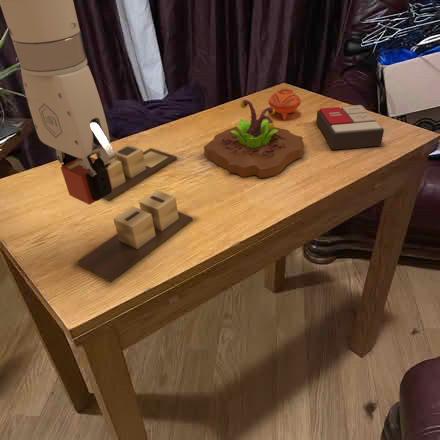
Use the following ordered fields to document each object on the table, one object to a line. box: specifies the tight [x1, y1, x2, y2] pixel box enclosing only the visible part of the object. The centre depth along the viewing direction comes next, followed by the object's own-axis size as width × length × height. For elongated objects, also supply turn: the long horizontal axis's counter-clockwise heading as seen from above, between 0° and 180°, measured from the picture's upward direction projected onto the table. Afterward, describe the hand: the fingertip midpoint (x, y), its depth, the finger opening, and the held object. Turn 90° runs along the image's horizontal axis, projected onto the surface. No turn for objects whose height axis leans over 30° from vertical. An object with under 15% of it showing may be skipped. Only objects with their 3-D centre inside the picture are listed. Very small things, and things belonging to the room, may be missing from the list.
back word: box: [102, 144, 178, 202], centre depth 89 cm, size 8×20×5 cm, turn 143°
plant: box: [203, 99, 305, 179], centre depth 90 cm, size 20×20×11 cm
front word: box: [77, 189, 194, 283], centre depth 72 cm, size 8×20×5 cm, turn 143°
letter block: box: [60, 157, 113, 206], centre depth 61 cm, size 4×4×5 cm
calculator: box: [315, 104, 385, 151], centre depth 97 cm, size 11×4×15 cm
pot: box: [268, 87, 302, 121], centre depth 106 cm, size 8×8×7 cm
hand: (90, 189), depth 62 cm, fingers closed on letter block, 4 cm apart
